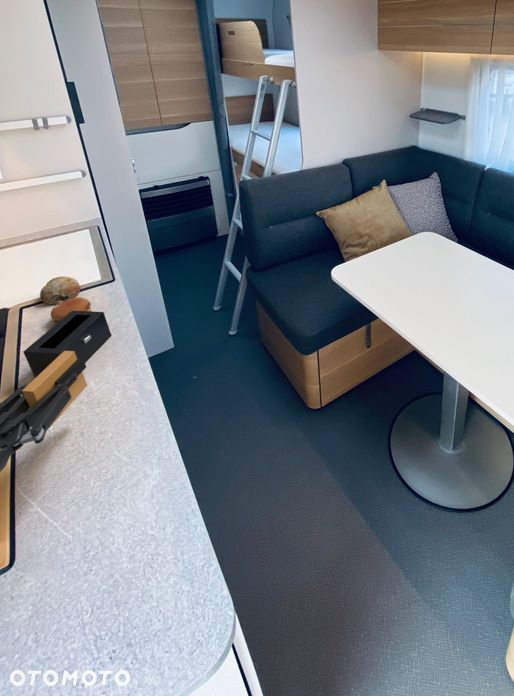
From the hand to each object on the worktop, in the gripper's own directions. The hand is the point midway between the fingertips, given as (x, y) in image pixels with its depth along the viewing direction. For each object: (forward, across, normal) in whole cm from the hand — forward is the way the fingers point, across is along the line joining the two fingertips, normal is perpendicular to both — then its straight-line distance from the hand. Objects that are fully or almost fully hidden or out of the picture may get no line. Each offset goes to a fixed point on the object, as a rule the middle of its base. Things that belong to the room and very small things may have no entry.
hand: (76, 361), depth 85 cm
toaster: (+14, -16, -13) cm, 25 cm away
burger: (+28, -28, -14) cm, 42 cm away
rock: (+38, -40, -14) cm, 57 cm away
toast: (-6, 0, -6) cm, 8 cm away
